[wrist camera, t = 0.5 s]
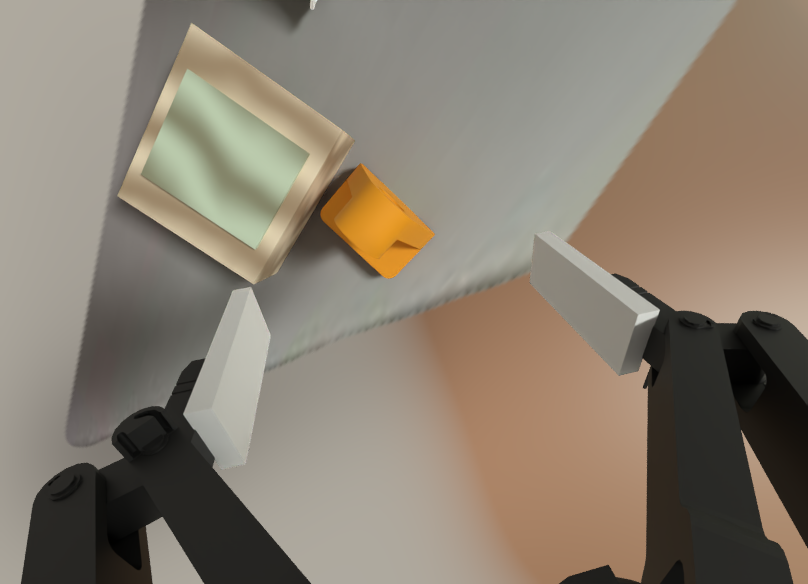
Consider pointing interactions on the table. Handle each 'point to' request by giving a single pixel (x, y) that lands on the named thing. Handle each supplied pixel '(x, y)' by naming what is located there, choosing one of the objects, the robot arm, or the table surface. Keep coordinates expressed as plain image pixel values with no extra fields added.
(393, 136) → the table surface
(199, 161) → the riser stand
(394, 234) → the bracket
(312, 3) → the white bone skull
